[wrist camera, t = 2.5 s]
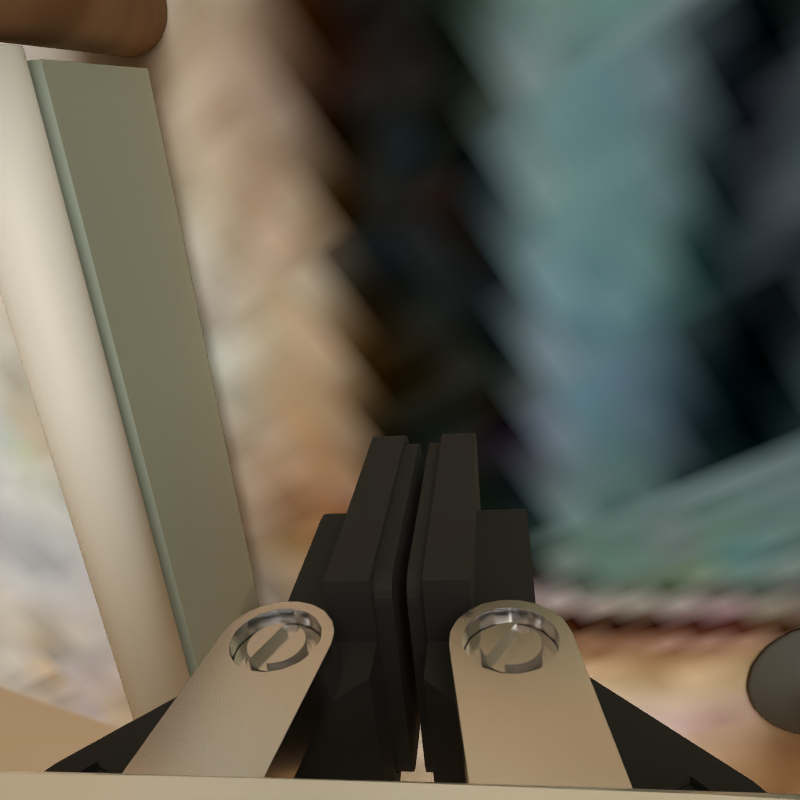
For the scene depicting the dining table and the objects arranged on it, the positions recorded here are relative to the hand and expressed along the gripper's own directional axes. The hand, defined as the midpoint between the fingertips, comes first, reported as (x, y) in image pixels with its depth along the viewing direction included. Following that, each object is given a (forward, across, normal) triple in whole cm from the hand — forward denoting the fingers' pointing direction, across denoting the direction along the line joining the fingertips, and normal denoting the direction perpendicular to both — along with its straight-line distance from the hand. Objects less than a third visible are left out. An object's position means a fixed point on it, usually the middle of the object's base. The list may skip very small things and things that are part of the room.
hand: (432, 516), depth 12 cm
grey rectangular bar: (+9, +8, +1) cm, 12 cm away
